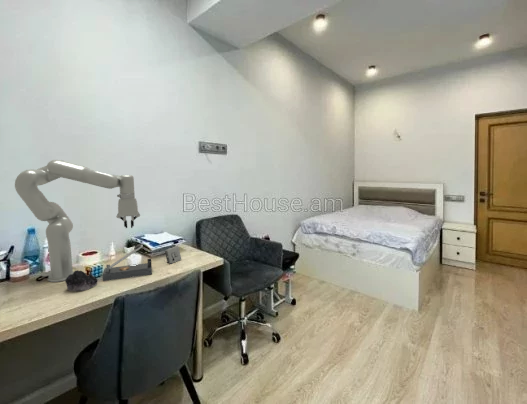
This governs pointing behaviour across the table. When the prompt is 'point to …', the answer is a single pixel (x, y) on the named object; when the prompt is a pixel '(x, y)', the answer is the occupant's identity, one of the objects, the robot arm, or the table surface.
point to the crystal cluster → (80, 281)
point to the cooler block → (127, 271)
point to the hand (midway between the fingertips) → (129, 227)
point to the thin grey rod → (126, 255)
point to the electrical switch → (173, 255)
